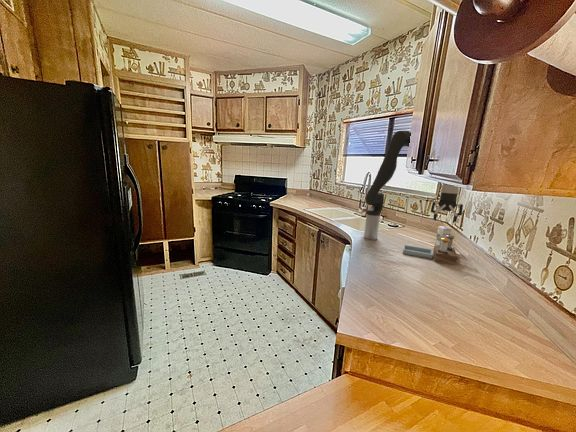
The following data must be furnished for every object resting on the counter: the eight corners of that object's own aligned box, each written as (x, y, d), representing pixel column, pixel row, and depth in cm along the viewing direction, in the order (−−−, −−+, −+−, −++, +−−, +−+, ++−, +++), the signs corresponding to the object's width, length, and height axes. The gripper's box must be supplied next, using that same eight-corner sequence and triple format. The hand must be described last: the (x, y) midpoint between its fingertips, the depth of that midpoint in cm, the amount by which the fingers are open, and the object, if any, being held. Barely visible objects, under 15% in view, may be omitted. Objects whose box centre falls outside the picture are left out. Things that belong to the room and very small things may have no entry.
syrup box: (448, 250, 156) (452, 228, 153) (439, 250, 157) (443, 228, 153) (443, 247, 162) (447, 226, 159) (434, 246, 162) (438, 225, 159)
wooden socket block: (433, 252, 152) (434, 244, 151) (452, 255, 148) (453, 247, 146) (434, 261, 138) (436, 253, 137) (455, 265, 134) (457, 256, 133)
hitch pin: (436, 258, 143) (440, 237, 140) (445, 259, 141) (449, 238, 138) (437, 260, 139) (441, 239, 136) (446, 262, 137) (450, 240, 134)
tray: (403, 248, 157) (404, 244, 156) (431, 253, 150) (431, 249, 150) (402, 253, 148) (403, 249, 147) (431, 259, 141) (432, 255, 141)
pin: (441, 254, 148) (445, 234, 145) (449, 256, 147) (454, 235, 144) (442, 257, 145) (446, 236, 142) (450, 258, 143) (455, 237, 140)
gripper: (464, 192, 130) (458, 222, 134) (433, 190, 137) (429, 218, 140) (466, 193, 124) (460, 224, 127) (434, 191, 130) (429, 221, 134)
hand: (444, 221), depth 134 cm, fingers open, 8 cm apart
